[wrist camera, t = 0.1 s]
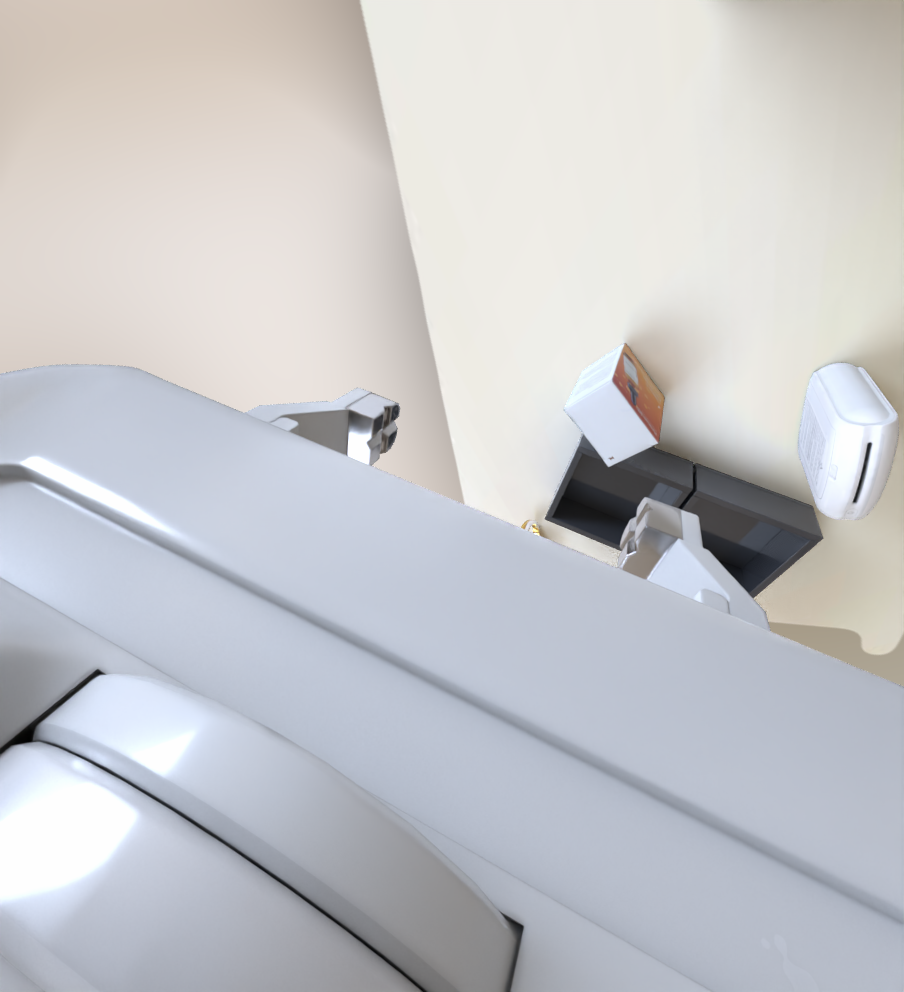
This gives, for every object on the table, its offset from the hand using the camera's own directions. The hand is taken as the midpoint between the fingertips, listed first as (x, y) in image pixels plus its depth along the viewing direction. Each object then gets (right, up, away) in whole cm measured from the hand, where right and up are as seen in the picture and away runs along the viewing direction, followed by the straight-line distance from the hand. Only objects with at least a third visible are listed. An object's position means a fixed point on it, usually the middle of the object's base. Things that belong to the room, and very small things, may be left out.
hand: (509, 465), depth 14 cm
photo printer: (+36, +8, +29) cm, 47 cm away
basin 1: (+20, +1, +43) cm, 47 cm away
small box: (+18, +12, +35) cm, 41 cm away
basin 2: (+32, -4, +41) cm, 52 cm away
